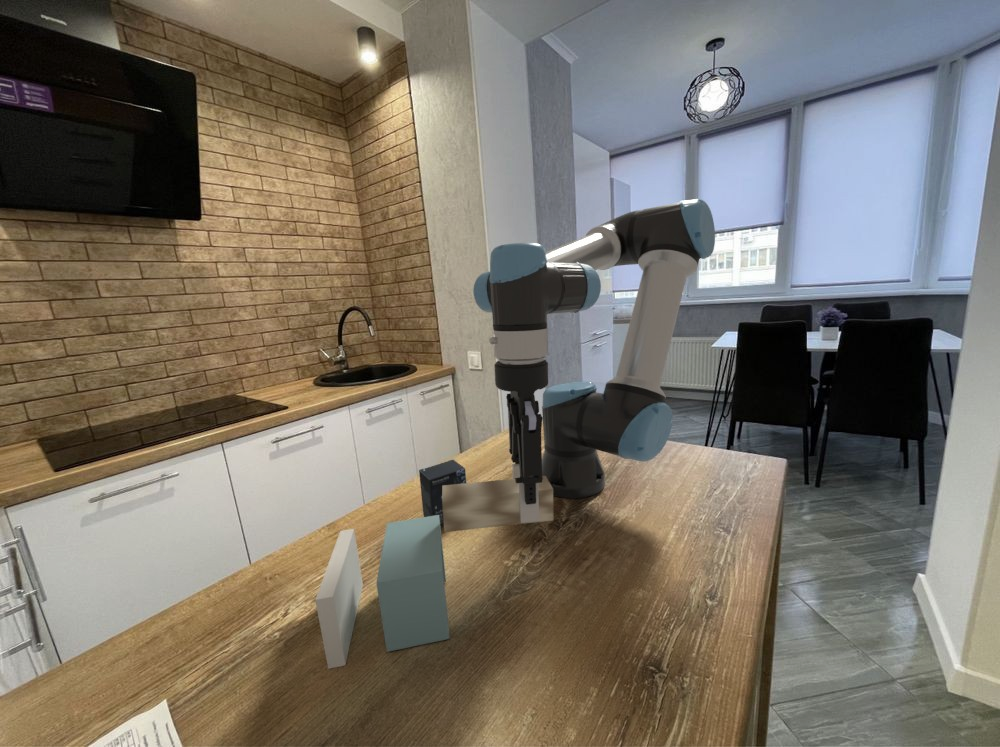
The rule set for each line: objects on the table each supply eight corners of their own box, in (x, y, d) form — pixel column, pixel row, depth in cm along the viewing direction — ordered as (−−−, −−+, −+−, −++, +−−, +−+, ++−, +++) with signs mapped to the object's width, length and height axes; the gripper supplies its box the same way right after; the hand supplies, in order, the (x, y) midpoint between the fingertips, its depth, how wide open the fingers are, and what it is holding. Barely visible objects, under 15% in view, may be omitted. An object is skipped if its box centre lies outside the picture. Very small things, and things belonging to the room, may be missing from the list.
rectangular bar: (545, 504, 62) (545, 475, 61) (553, 520, 58) (553, 489, 57) (444, 515, 60) (442, 485, 59) (444, 532, 56) (442, 500, 55)
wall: (362, 584, 62) (354, 528, 60) (345, 665, 49) (333, 596, 47) (349, 587, 62) (340, 530, 60) (328, 669, 48) (315, 599, 46)
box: (434, 530, 75) (429, 479, 73) (423, 517, 80) (417, 469, 78) (470, 515, 80) (465, 467, 77) (457, 503, 84) (453, 458, 82)
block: (445, 571, 64) (439, 514, 62) (449, 638, 51) (442, 571, 49) (394, 580, 62) (386, 523, 60) (386, 651, 50) (376, 582, 48)
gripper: (487, 353, 63) (494, 487, 67) (503, 372, 46) (511, 550, 50) (533, 350, 64) (536, 482, 68) (565, 368, 47) (567, 543, 51)
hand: (525, 511), depth 59 cm, fingers closed on rectangular bar, 4 cm apart
